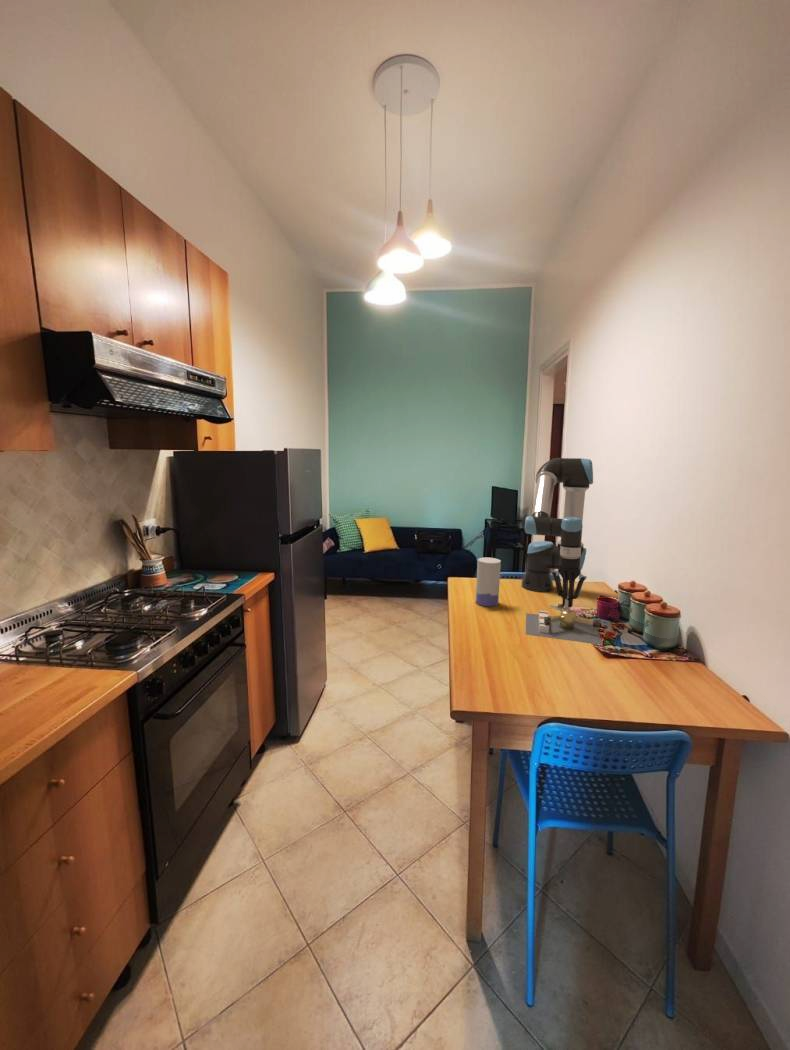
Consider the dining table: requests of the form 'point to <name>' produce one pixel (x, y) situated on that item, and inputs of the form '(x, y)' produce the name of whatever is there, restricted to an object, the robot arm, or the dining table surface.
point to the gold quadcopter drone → (568, 618)
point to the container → (488, 581)
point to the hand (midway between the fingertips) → (566, 614)
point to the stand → (561, 629)
